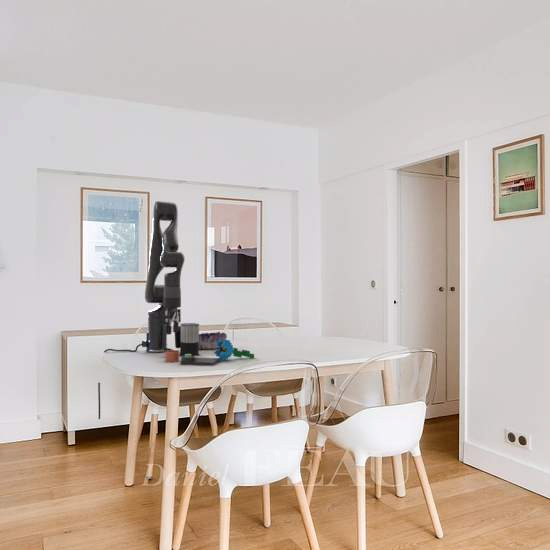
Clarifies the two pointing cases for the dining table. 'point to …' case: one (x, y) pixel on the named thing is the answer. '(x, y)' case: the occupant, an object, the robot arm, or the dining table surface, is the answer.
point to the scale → (199, 361)
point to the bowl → (171, 356)
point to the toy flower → (230, 350)
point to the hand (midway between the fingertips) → (172, 333)
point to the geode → (210, 340)
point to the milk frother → (187, 339)
